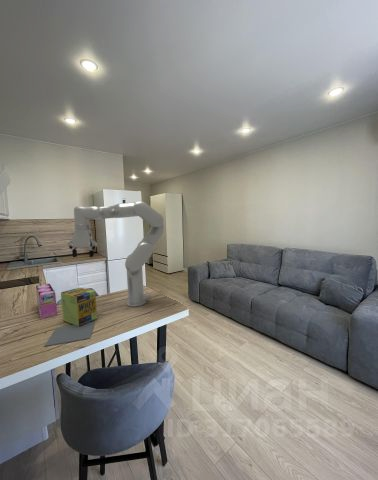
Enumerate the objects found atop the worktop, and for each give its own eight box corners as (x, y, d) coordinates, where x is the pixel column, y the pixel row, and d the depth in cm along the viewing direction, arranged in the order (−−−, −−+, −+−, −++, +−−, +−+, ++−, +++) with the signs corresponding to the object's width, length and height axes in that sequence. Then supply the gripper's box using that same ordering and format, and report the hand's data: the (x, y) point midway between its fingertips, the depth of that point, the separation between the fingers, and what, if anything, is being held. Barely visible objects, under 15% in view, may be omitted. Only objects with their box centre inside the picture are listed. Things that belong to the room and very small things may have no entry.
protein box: (79, 327, 105) (76, 296, 104) (62, 320, 113) (60, 292, 112) (97, 318, 114) (95, 290, 112) (81, 313, 122) (79, 286, 121)
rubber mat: (95, 322, 110) (95, 321, 110) (90, 338, 95) (90, 337, 95) (56, 328, 105) (56, 327, 105) (44, 346, 90) (44, 345, 90)
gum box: (37, 306, 134) (35, 285, 133) (52, 302, 139) (50, 282, 138) (41, 319, 116) (38, 295, 114) (57, 314, 121) (55, 291, 119)
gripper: (99, 227, 127) (100, 255, 128) (70, 227, 127) (72, 255, 128) (94, 228, 119) (95, 258, 121) (63, 228, 119) (64, 258, 121)
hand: (83, 256), depth 125 cm, fingers open, 9 cm apart
